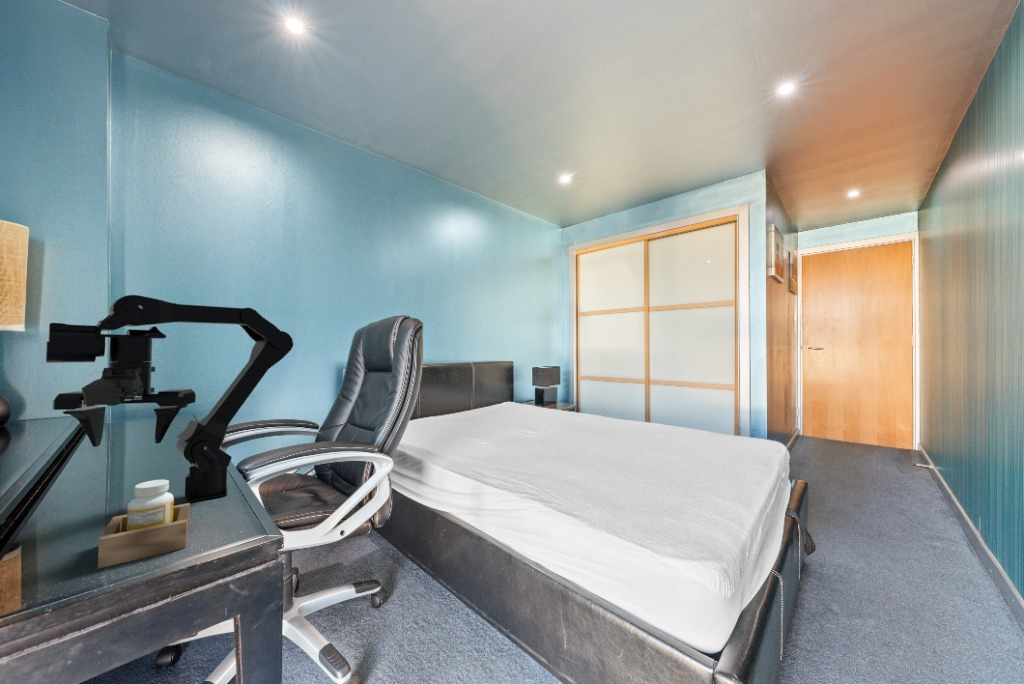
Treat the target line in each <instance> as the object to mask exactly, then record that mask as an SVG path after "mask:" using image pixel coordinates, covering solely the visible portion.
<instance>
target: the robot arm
mask: <svg viewBox="0 0 1024 684" xmlns="http://www.w3.org/2000/svg"><path fill="white" fill-rule="evenodd" d="M111 303H112V302H111ZM108 309H109V310H108V312H109V314H108V315H107V316H105V318H104V319H101V320H98V321H97V324H96V325H87V324H68V323H64V322H63V323H61V322H51V323H49V324H48V325H49V328H48V341H46V343H45V344H46V346H45V347H46V348H45V349H46V350H45V363H47V364H48V363H49V364H51V363H53V364H54V363H58V364H59V363H61V364H62V363H96V358H100V357H101V358H103V357H105V353H106V338H109V353H108V355H109V356H108V367H103V370H102V373H101V377H100V378H99V379H95V380H93V381H92V382H89V383H88V384H86V385H85V386H83V387H82V388H81V390H79V391H70V392H69V391H68V392H62V393H60V392H59V393H58V394H57V395H56V396H55V398H54V399H53V401H52V410H54V411H59V410H61V411H62V410H63V411H62V414H63V415H70V416H71V417H73V418H74V419H76V420H77V421H78V422H79V423H80V424H81V426H82V428H83V430H84V432H85V433H86V435H87V437H88V439H89V441H90V443H91V445H92V447H93V448H97V447H100V446H101V443H102V440H103V434H104V433H103V432H104V425H105V415H106V409H107V408H106V406H109V407H112V406H117V405H118V406H119V405H123V404H124V405H126V404H127V405H128V404H157V405H158V406H159V407H156V408H153V412H154V414H155V416H156V420H155V429H154V443H155V444H160V443H162V441H163V439H164V437H165V435H166V434H167V432H168V430H169V429H170V426H171V424H172V423H173V421H174V419H175V418H176V417H177V415H178V414H179V413H180V411H181V410H182V409H184V408H188V405H190V404H195V403H196V397H197V396H196V392H195V390H193V389H192V388H182V389H181V388H180V389H179V388H178V389H177V388H176V389H174V388H173V389H167V390H166V389H165V390H161V391H158V392H157V393H156V392H155V387H152V373H155V372H156V366H152V360H153V359H152V357H153V339H159V340H160V339H167V335H166V334H164V333H163V332H162V331H160V329H159V328H158V327H157V326H153V325H163V324H171V323H172V324H173V323H174V324H175V323H183V324H185V323H186V324H207V325H208V324H210V325H212V324H213V325H214V324H215V325H218V324H219V325H236V326H238V325H239V326H240V327H241V328H242V329H243V331H244V332H245V333H246V335H248V336H249V338H250V339H252V340H253V341H254V342H255V343H254V345H253V347H252V349H251V351H250V356H249V359H248V361H247V363H246V364H245V365H244V367H243V368H242V369H241V371H240V372H239V374H238V375H237V376H236V377H235V378H234V380H233V381H232V382H231V384H230V385H229V386H228V387H227V389H226V390H225V392H224V393H223V394H222V396H221V397H220V398H219V400H218V401H217V402H216V403H215V404H214V406H213V408H211V409H210V411H209V413H208V414H207V415H206V416H204V417H203V418H202V419H200V421H195V420H194V419H190V420H189V422H188V423H187V425H186V427H185V428H184V430H183V431H182V432H181V433H180V434H178V435H177V436H176V438H177V439H178V441H177V443H176V445H175V448H176V453H177V454H178V455H179V456H180V457H181V458H183V459H185V460H186V461H187V462H188V463H189V465H191V466H189V473H187V474H186V475H185V479H184V480H185V481H184V482H185V483H184V497H185V498H186V499H187V501H186V502H187V503H193V502H198V501H204V500H208V499H215V498H219V497H226V496H228V467H229V465H230V463H231V461H232V456H231V455H230V454H228V453H227V452H226V451H223V450H222V449H221V447H222V444H223V442H224V440H225V437H226V434H227V431H228V428H229V424H230V423H231V421H232V420H233V419H234V417H235V416H236V415H237V414H238V412H239V410H240V409H241V408H242V407H243V405H244V404H245V402H246V400H247V399H248V398H249V397H250V395H251V394H252V393H253V391H254V390H255V389H256V387H257V386H258V384H259V383H260V382H261V380H262V379H263V377H264V376H265V375H266V373H267V372H268V371H269V370H270V369H271V368H272V367H274V366H275V365H276V364H277V363H279V362H281V361H282V360H283V359H284V358H285V357H286V356H287V355H288V354H289V353H290V352H291V351H292V349H293V347H294V341H293V337H292V336H291V335H290V334H289V333H288V332H286V331H283V330H281V329H279V328H278V327H277V326H276V325H275V324H273V323H272V322H270V321H269V320H267V318H265V317H263V316H262V315H261V314H260V313H259V312H258V311H257V310H256V309H255V308H252V307H244V308H243V307H229V306H228V307H227V306H213V305H212V306H211V305H198V304H197V305H196V304H181V303H180V304H179V303H176V302H175V303H174V302H170V301H166V300H162V299H158V298H153V297H149V296H144V295H136V294H128V295H124V296H122V297H120V298H118V299H117V300H116V299H115V301H114V302H113V303H112V304H111V305H110V306H109V308H108ZM141 326H142V327H144V326H152V327H150V328H149V329H131V327H132V328H133V327H134V328H135V327H141ZM123 327H128V328H129V327H130V329H127V330H126V331H125V334H111V333H110V334H108V333H102V332H112V331H115V330H118V329H122V328H123Z"/></svg>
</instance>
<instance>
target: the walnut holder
mask: <svg viewBox="0 0 1024 684" xmlns="http://www.w3.org/2000/svg"><path fill="white" fill-rule="evenodd" d="M190 511H191V502H187V503H182V504H176V505H174V506H173V522H171V523H166V524H161V525H156V526H151V527H146V528H141V529H136V530H131V531H127V514H122V515H117V516H113V517H112V518H111V520H110V522H109V523H108V525H107V526H106V528H105V529H104V531H103V533H102V534H101V536H100V537H99V539H98V554H97V557H98V559H97V569H98V570H99V569H102V568H107V567H110V566H111V567H112V566H115V565H119V564H123V563H124V564H125V563H128V562H133V561H136V560H141V559H145V558H148V557H149V558H150V557H152V556H158V555H162V554H166V553H171V552H174V551H178V550H182V549H187V542H188V536H189V530H190V524H191V523H190V519H191V518H190V517H191V513H190Z"/></svg>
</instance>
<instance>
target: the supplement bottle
mask: <svg viewBox="0 0 1024 684" xmlns="http://www.w3.org/2000/svg"><path fill="white" fill-rule="evenodd" d="M169 489H170V480H168V479H154V480H153V479H152V480H148V481H143V482H140V483H138V484H136V485H135V486H134V489H133V491H134V492H133V494H134V497H135V498H133V499H132V500H130V501H129V503H128V504H127V513H126V515H127V531H131V530H136V529H141V528H146V527H151V526H156V525H161V524H166V523H171V522H173V506H175V505H174V504H175V498H174V495H173V494H172V493H171V492H168V491H169Z"/></svg>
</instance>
